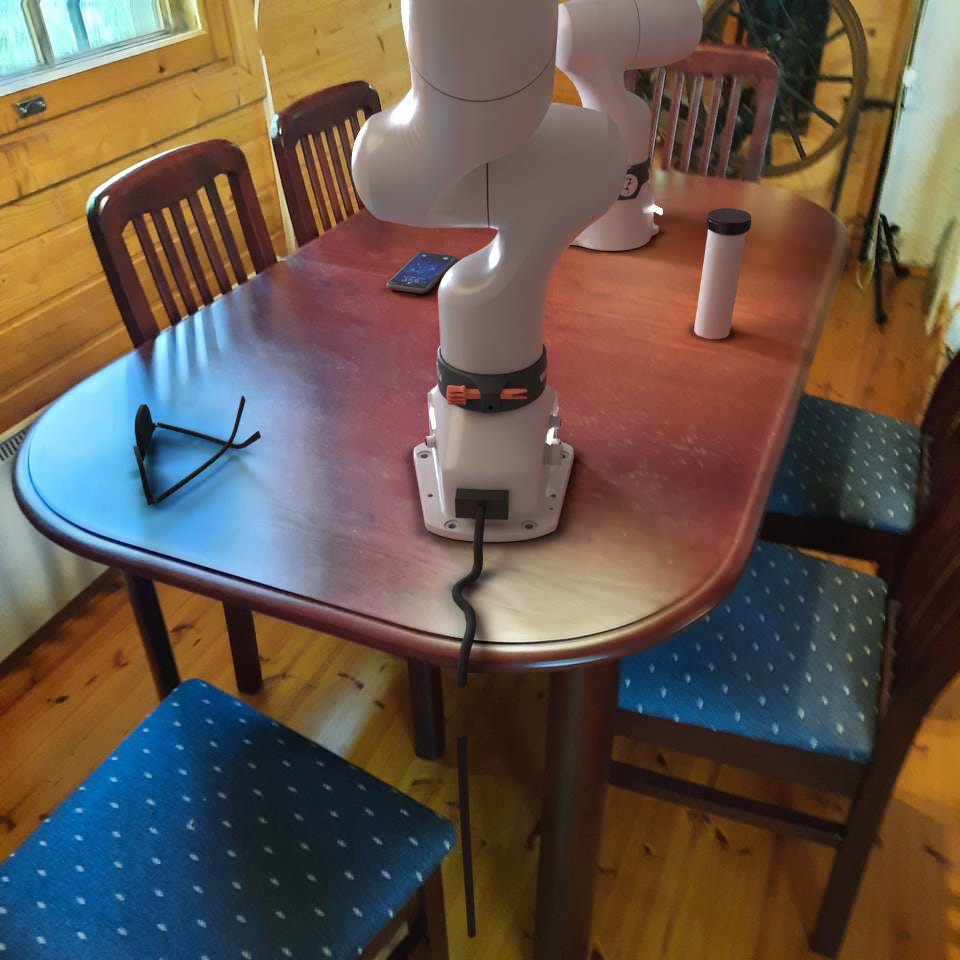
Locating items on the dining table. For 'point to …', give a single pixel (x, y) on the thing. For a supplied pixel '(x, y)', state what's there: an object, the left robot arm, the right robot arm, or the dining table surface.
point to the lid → (728, 221)
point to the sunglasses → (147, 427)
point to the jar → (719, 284)
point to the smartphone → (421, 272)
